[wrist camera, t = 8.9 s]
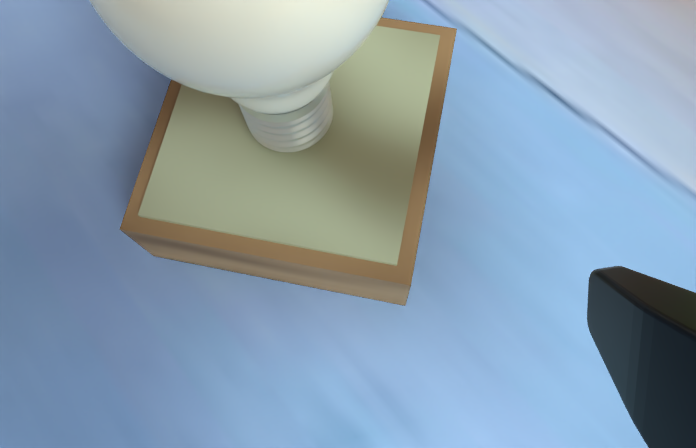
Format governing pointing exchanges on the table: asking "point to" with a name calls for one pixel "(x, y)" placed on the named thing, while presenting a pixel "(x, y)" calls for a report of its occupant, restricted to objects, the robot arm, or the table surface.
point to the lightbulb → (251, 54)
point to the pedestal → (304, 176)
